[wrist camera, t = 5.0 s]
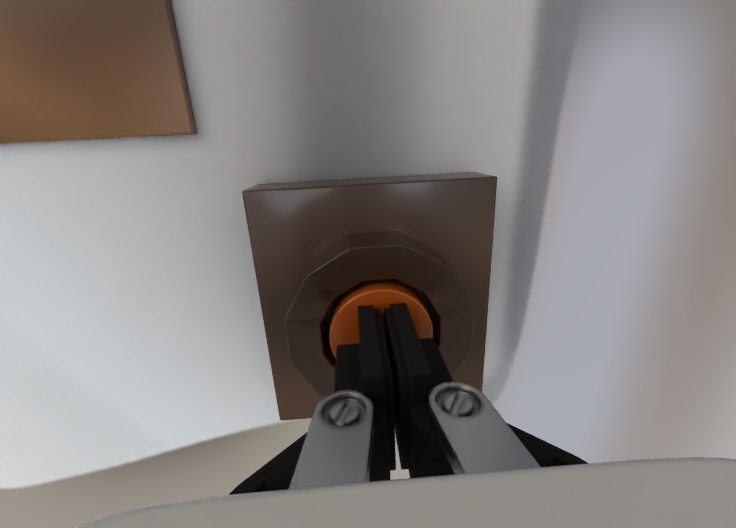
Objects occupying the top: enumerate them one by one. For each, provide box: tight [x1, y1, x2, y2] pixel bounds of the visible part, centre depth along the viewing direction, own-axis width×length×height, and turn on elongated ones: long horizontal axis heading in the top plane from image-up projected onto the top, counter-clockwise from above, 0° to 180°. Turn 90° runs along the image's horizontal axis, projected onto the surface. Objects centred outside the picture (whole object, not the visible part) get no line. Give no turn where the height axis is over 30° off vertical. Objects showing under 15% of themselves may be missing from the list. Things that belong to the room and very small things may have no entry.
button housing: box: [242, 172, 497, 420], centre depth 14 cm, size 10×9×4 cm
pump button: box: [329, 279, 433, 358], centre depth 13 cm, size 4×4×2 cm
